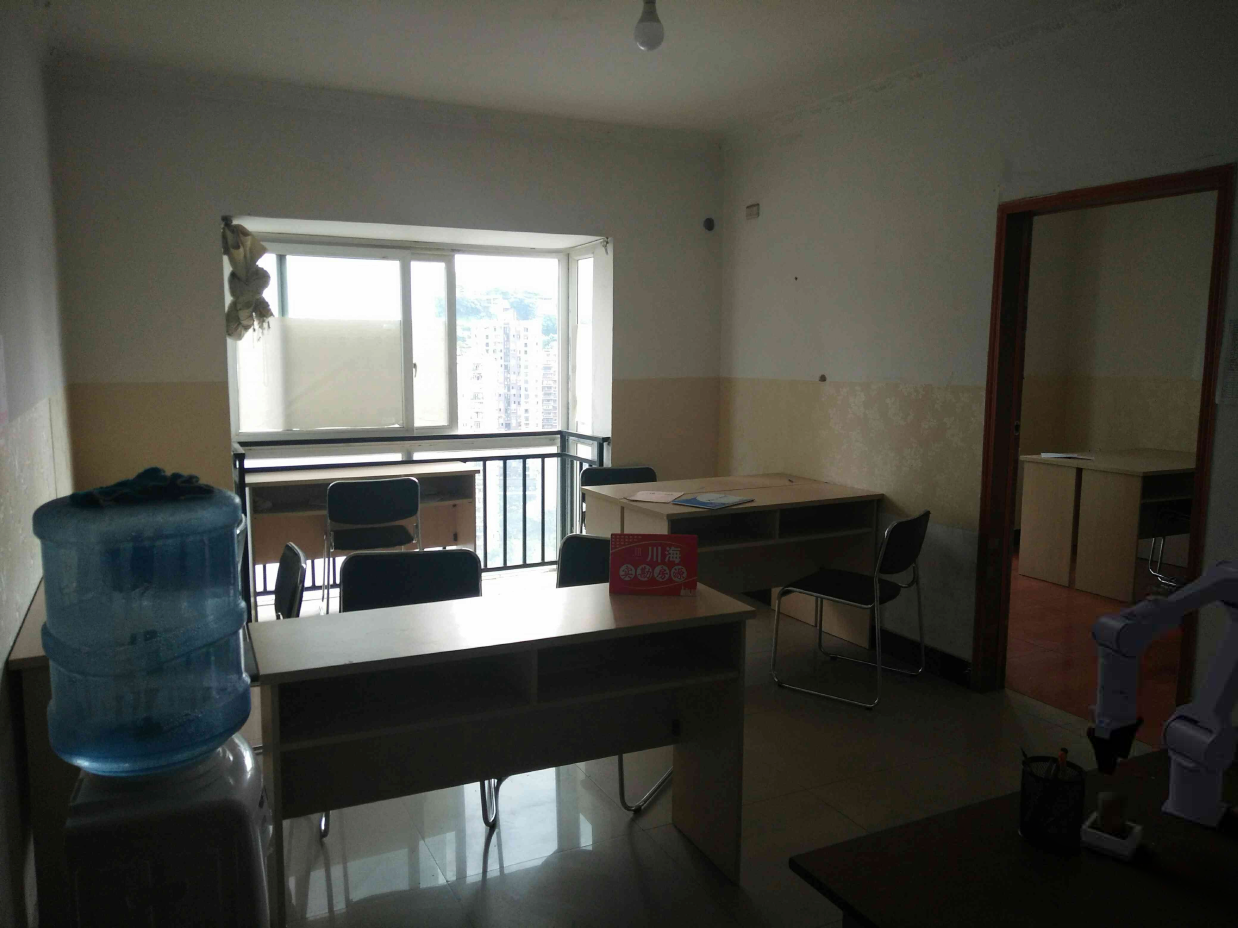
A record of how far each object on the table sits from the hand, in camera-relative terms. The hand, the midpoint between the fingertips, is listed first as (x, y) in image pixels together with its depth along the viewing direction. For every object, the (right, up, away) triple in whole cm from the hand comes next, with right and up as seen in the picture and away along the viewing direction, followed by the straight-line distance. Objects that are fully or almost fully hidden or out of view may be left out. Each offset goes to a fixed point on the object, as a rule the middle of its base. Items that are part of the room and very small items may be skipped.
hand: (1113, 764), depth 145 cm
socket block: (-3, -11, -5) cm, 13 cm away
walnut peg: (-3, -10, -5) cm, 12 cm away
